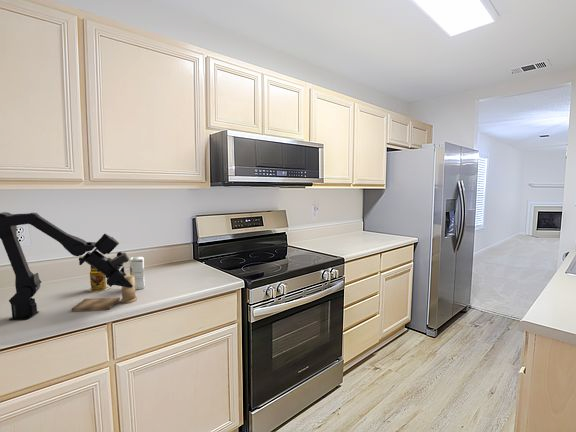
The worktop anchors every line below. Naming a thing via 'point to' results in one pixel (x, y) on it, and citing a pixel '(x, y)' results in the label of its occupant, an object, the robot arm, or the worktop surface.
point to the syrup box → (137, 271)
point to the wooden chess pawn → (129, 291)
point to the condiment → (97, 281)
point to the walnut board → (96, 304)
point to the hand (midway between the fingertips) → (132, 285)
